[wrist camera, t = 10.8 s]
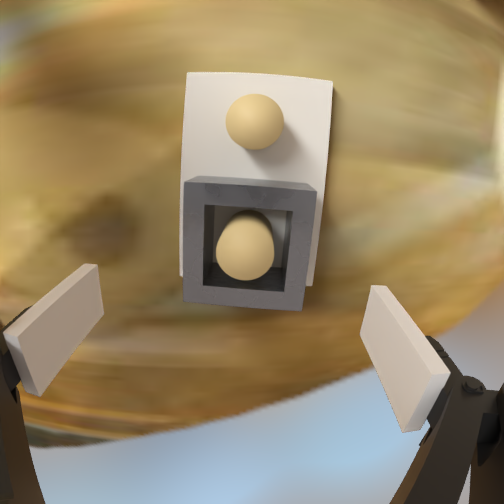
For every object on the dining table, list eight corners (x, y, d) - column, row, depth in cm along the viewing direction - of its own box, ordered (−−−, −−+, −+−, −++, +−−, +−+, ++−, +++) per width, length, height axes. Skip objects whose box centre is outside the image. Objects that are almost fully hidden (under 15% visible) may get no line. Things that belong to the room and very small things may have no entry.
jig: (190, 75, 24) (168, 55, 18) (330, 84, 24) (349, 65, 18) (182, 271, 30) (162, 303, 24) (310, 281, 30) (321, 316, 23)
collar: (198, 175, 26) (184, 181, 21) (307, 183, 26) (317, 191, 21) (195, 276, 29) (183, 301, 24) (295, 284, 29) (301, 311, 24)
